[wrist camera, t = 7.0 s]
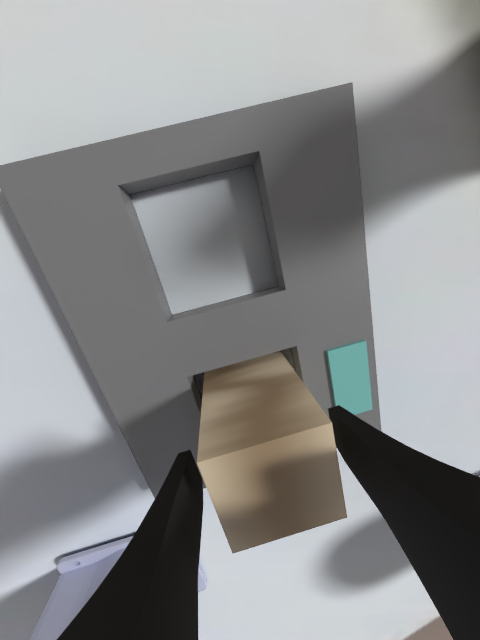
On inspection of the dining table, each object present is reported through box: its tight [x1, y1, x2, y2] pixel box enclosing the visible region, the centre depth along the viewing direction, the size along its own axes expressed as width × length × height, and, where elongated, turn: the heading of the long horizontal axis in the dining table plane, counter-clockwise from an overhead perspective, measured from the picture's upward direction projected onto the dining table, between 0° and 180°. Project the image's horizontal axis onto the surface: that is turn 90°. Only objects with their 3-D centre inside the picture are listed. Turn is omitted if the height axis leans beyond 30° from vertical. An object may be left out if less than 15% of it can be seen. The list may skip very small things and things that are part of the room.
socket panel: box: [0, 83, 381, 498], centre depth 13 cm, size 16×20×2 cm
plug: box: [197, 351, 347, 553], centre depth 12 cm, size 5×5×7 cm
